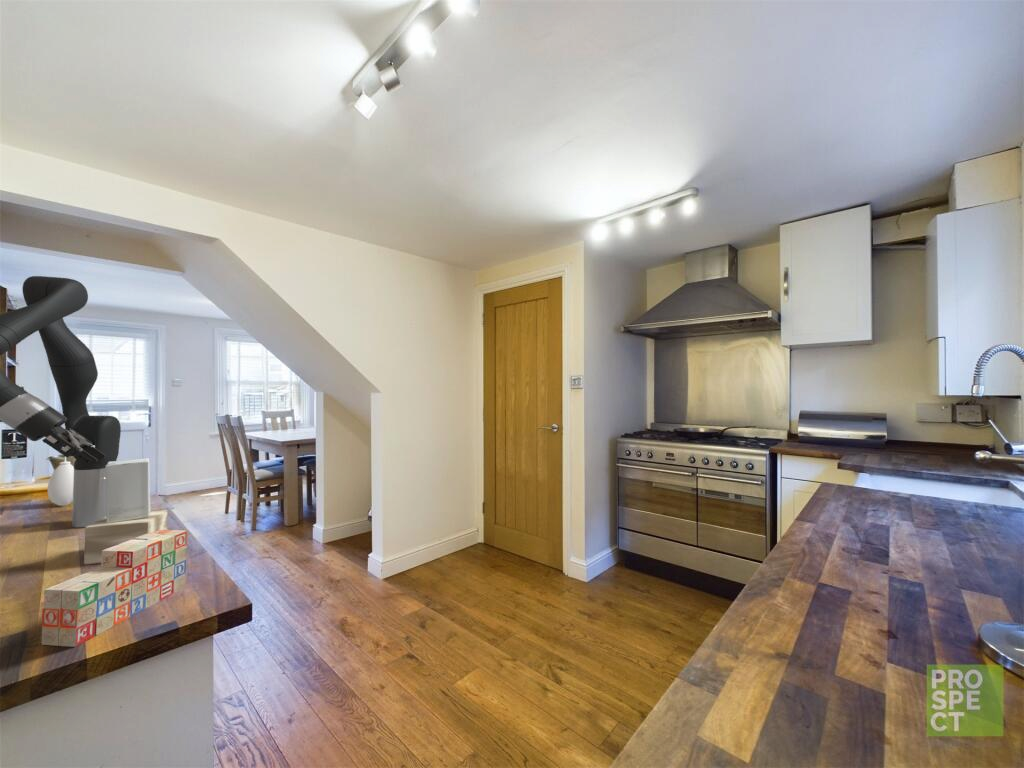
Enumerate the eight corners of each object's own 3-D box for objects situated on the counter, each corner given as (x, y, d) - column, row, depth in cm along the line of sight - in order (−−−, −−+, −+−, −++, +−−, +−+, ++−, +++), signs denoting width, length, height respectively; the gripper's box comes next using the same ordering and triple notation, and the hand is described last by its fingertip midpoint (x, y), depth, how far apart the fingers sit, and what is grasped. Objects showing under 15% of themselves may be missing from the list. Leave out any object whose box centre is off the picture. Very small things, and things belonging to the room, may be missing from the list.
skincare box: (150, 512, 111) (152, 457, 111) (148, 518, 106) (150, 460, 107) (106, 518, 106) (108, 460, 106) (103, 524, 101) (105, 463, 101)
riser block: (111, 547, 110) (112, 513, 110) (166, 541, 114) (167, 509, 115) (84, 565, 99) (85, 527, 99) (146, 558, 103) (147, 522, 103)
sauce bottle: (55, 503, 148) (56, 453, 148) (84, 501, 151) (85, 452, 152) (41, 509, 141) (43, 456, 141) (72, 507, 144) (74, 455, 145)
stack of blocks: (75, 648, 68) (78, 572, 68) (40, 646, 68) (42, 571, 68) (186, 586, 89) (188, 529, 89) (158, 585, 89) (160, 528, 89)
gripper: (38, 406, 93) (107, 454, 99) (57, 404, 104) (118, 446, 111) (1, 431, 90) (74, 478, 96) (25, 426, 101) (89, 468, 108)
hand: (98, 461), depth 103 cm, fingers open, 8 cm apart
